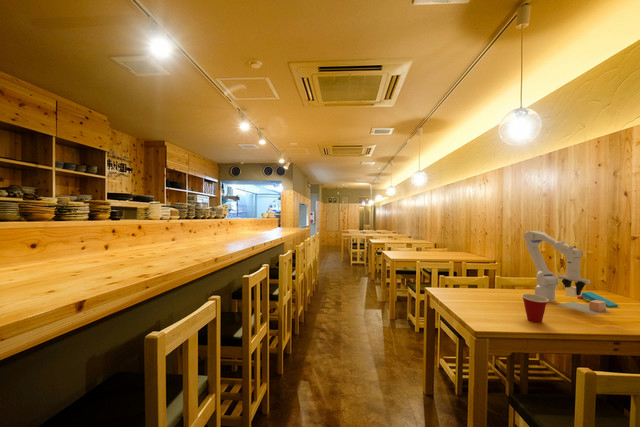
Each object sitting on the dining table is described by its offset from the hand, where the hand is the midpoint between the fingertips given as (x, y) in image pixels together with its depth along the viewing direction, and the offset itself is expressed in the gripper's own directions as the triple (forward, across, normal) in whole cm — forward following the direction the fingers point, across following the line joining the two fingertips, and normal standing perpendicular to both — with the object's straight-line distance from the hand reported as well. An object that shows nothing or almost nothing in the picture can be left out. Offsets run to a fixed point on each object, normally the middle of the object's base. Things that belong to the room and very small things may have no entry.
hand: (573, 294), depth 161 cm
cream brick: (+1, 0, 0) cm, 1 cm away
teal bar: (+9, -2, +24) cm, 26 cm away
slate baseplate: (+8, +2, +4) cm, 10 cm away
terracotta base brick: (+8, +7, +8) cm, 13 cm away
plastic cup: (+9, +4, -40) cm, 41 cm away
